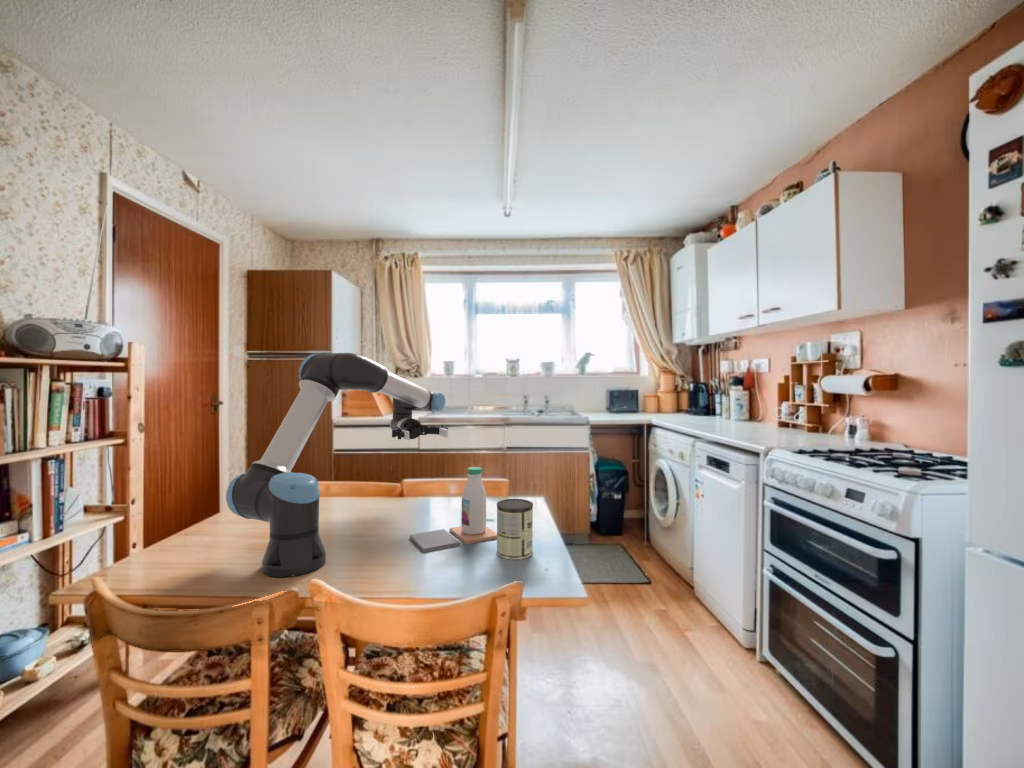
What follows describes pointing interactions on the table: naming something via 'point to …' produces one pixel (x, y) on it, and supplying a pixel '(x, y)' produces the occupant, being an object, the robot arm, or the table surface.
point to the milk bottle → (474, 503)
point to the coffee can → (514, 529)
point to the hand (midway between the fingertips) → (428, 434)
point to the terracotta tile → (473, 538)
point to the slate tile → (434, 540)
